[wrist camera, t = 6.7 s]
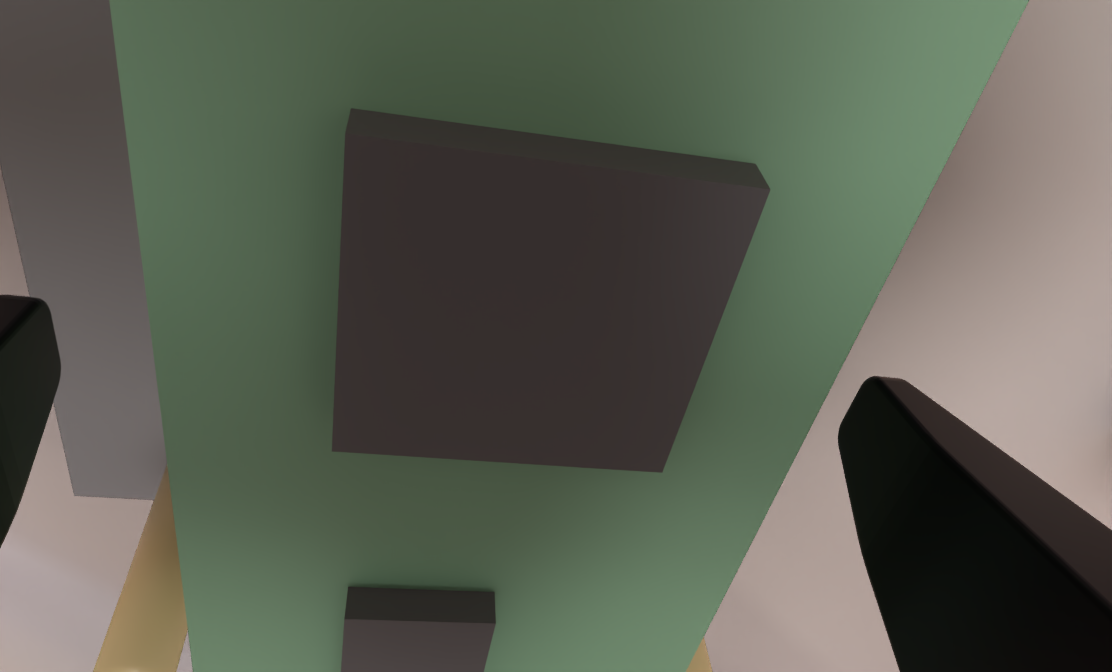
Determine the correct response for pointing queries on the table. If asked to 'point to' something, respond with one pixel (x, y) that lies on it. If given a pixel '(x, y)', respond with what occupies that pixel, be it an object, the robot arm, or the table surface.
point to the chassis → (96, 295)
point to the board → (510, 302)
